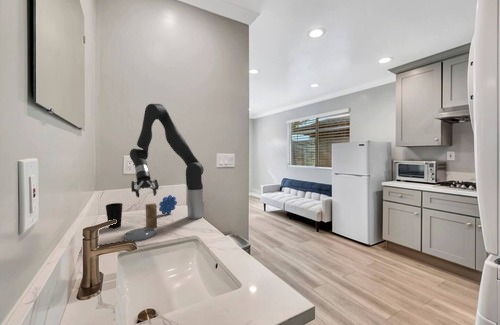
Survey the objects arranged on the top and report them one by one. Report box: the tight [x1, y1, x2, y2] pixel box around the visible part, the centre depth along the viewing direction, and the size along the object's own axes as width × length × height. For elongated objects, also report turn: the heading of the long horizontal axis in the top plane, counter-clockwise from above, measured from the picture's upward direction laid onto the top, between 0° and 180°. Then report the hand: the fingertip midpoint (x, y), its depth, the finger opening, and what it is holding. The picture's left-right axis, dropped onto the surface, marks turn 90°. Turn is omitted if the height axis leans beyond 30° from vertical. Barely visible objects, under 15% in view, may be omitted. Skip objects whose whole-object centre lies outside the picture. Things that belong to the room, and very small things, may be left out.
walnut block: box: [145, 203, 158, 229], centre depth 119 cm, size 4×4×12 cm
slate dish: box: [124, 227, 156, 242], centre depth 107 cm, size 13×13×2 cm
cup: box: [105, 202, 123, 230], centre depth 119 cm, size 8×8×12 cm
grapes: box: [158, 194, 178, 215], centre depth 144 cm, size 12×7×12 cm, turn 131°
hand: (146, 195), depth 128 cm, fingers open, 8 cm apart
